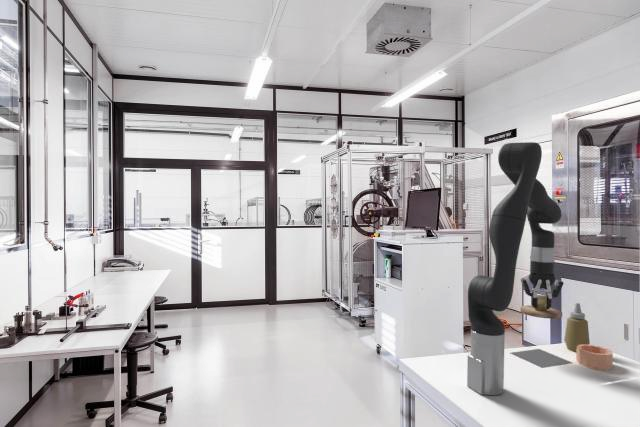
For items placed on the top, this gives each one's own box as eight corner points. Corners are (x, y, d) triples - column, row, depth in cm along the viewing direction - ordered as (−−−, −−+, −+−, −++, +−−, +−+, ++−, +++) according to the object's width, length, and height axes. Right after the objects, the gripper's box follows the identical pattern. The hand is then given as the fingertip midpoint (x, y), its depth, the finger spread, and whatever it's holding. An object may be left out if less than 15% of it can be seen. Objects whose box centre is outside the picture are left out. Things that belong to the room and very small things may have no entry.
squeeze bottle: (564, 352, 150) (566, 304, 149) (563, 345, 157) (564, 300, 156) (590, 356, 146) (592, 307, 145) (588, 349, 153) (589, 302, 153)
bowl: (597, 373, 131) (598, 356, 131) (569, 361, 141) (570, 346, 141) (619, 369, 134) (619, 353, 134) (590, 358, 144) (591, 343, 144)
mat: (541, 369, 134) (541, 367, 134) (509, 354, 147) (509, 352, 147) (572, 364, 138) (573, 362, 138) (538, 350, 152) (538, 348, 152)
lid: (542, 319, 134) (542, 301, 134) (512, 310, 147) (512, 293, 146) (571, 316, 138) (571, 299, 138) (539, 307, 151) (539, 291, 151)
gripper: (524, 260, 140) (522, 309, 140) (568, 262, 137) (567, 312, 137) (517, 257, 147) (516, 304, 148) (560, 259, 145) (558, 307, 145)
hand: (541, 308), depth 142 cm, fingers closed on lid, 3 cm apart
